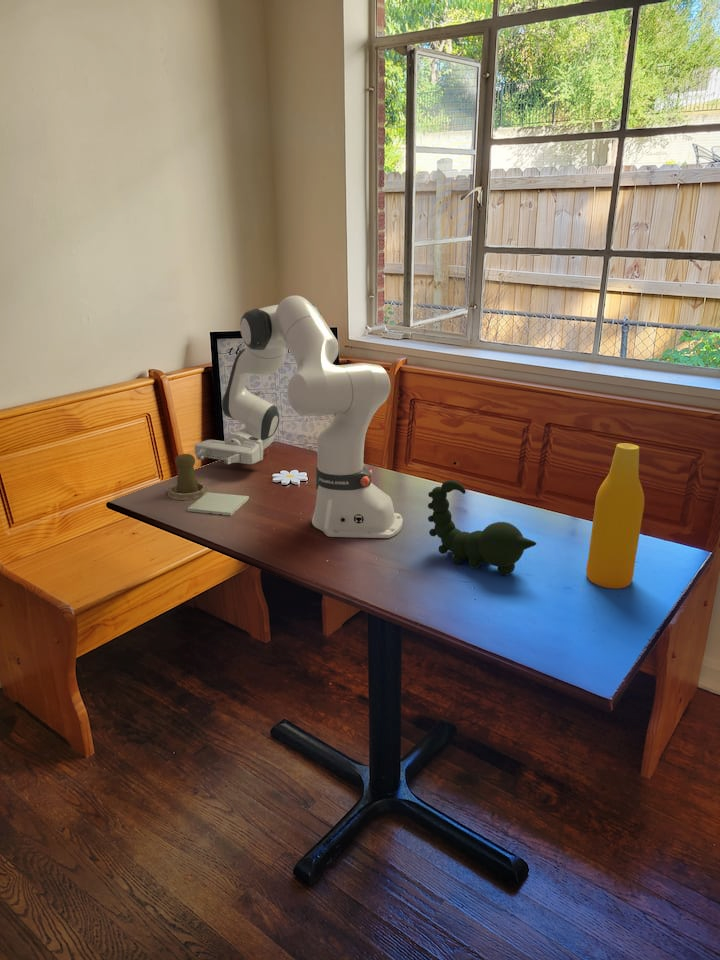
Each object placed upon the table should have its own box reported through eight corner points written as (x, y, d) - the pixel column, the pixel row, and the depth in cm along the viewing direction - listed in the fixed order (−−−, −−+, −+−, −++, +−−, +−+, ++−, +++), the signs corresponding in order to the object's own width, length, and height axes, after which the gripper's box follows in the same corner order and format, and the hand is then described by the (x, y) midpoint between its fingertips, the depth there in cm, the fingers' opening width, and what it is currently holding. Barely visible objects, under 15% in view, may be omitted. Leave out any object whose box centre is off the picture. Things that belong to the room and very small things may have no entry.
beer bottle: (576, 577, 144) (593, 445, 134) (600, 564, 150) (618, 436, 140) (617, 594, 137) (638, 456, 128) (640, 580, 143) (662, 446, 133)
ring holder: (213, 488, 193) (213, 483, 192) (196, 501, 183) (196, 496, 183) (179, 485, 195) (179, 480, 195) (161, 497, 185) (160, 492, 185)
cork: (190, 498, 185) (187, 459, 182) (171, 495, 187) (168, 456, 184) (203, 491, 191) (200, 453, 187) (185, 488, 193) (181, 450, 189)
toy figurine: (422, 563, 153) (525, 589, 138) (419, 482, 148) (525, 500, 132) (445, 549, 160) (545, 573, 145) (442, 471, 155) (547, 487, 139)
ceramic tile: (249, 499, 185) (248, 496, 185) (231, 515, 174) (230, 512, 174) (207, 495, 188) (207, 492, 188) (187, 511, 177) (187, 508, 177)
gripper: (209, 432, 212) (181, 444, 200) (266, 440, 205) (241, 453, 193) (210, 451, 214) (183, 464, 202) (267, 460, 207) (242, 474, 195)
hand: (212, 459), depth 197 cm, fingers open, 8 cm apart
